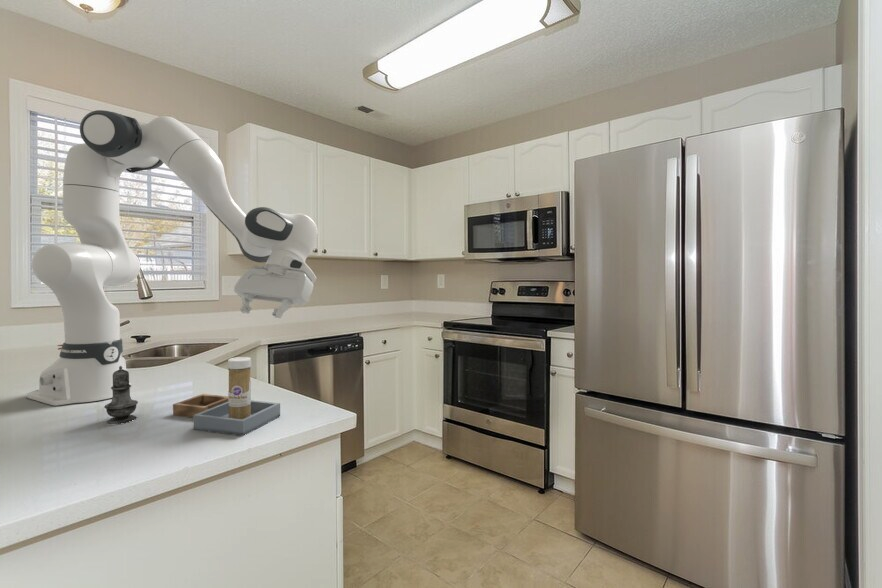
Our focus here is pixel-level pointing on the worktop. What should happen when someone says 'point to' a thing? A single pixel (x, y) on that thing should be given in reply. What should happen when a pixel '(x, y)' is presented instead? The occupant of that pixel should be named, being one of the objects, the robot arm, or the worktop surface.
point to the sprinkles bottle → (239, 387)
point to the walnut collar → (198, 404)
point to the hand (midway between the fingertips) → (259, 314)
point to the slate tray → (221, 422)
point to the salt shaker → (121, 399)
